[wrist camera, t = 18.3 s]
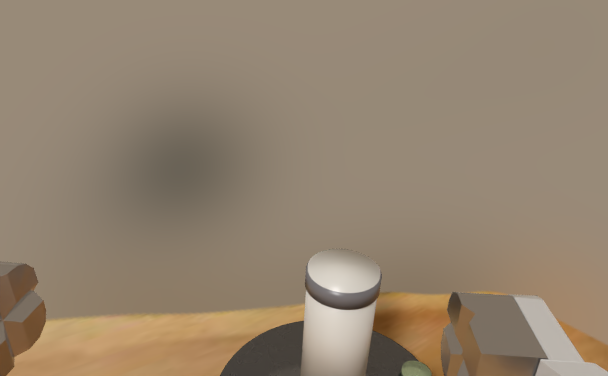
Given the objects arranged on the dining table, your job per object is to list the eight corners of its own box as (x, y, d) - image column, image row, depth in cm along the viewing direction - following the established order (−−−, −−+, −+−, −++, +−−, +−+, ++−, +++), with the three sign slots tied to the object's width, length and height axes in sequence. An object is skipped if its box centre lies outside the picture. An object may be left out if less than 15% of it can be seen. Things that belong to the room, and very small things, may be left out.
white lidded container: (360, 376, 36) (378, 251, 31) (364, 431, 31) (385, 294, 26) (300, 370, 36) (308, 245, 31) (294, 424, 31) (303, 287, 27)
